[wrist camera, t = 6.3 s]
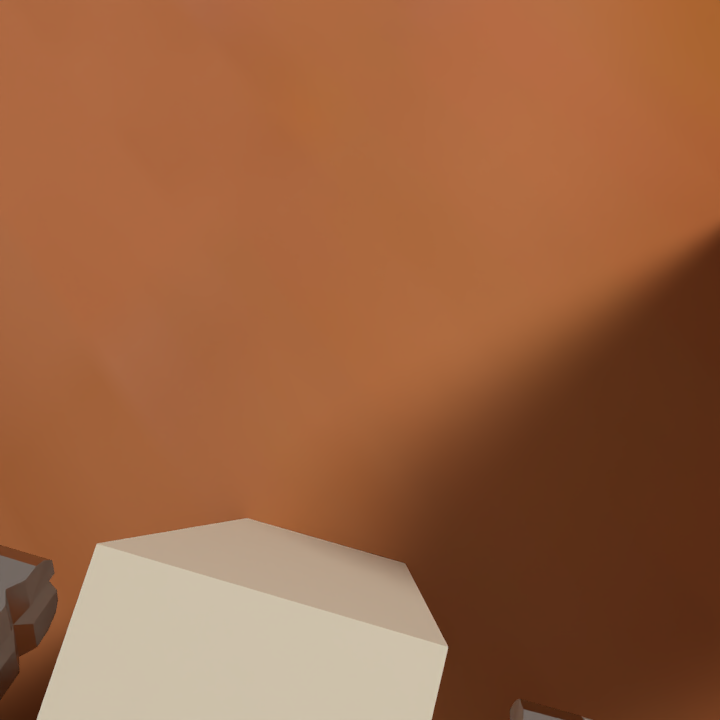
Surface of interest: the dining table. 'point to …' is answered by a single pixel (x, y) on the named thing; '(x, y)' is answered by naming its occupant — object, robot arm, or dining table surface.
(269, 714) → the cream block
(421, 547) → the dining table surface
